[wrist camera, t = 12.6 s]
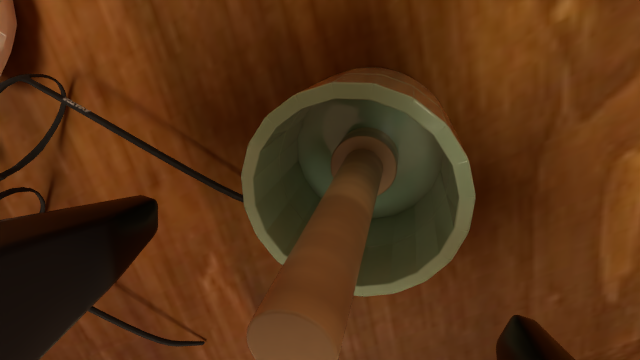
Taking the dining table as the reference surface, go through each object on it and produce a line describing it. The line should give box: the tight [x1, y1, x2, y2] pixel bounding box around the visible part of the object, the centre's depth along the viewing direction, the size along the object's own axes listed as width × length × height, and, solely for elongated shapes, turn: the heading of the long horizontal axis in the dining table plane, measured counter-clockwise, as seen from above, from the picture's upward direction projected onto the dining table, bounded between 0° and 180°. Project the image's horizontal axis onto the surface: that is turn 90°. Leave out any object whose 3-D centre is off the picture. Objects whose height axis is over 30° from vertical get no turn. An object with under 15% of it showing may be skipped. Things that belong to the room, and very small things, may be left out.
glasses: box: [0, 74, 244, 346], centre depth 21 cm, size 14×15×5 cm
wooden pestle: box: [247, 127, 398, 360], centre depth 12 cm, size 3×3×12 cm
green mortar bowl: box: [241, 67, 476, 297], centre depth 14 cm, size 8×8×6 cm
